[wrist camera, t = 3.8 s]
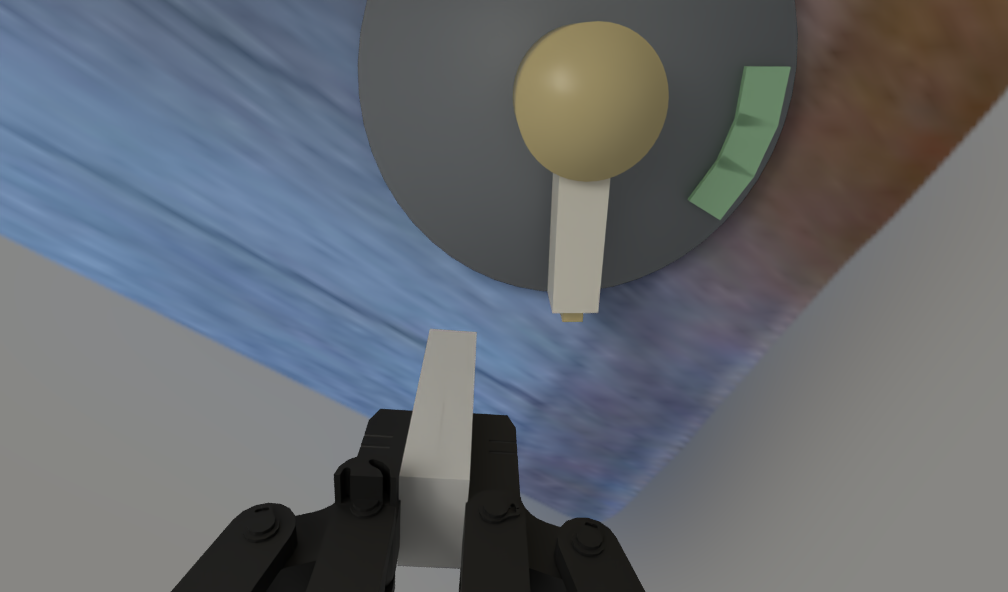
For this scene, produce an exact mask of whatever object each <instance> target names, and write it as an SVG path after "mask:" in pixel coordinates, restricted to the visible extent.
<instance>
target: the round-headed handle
mask: <svg viewBox="0 0 1008 592" xmlns="http://www.w3.org/2000/svg"><path fill="white" fill-rule="evenodd" d="M668 100H669V91H668V82H667V77H666V73H665V70H664V67H663V64H662V62H661V60H660V58H659V56H658V55H657V53H656V52H655V50H654V49H653V47H652V46H651V45H650V44H649V43H648V42H647V41H646V40H645V39H644V38H643V37H641V36H640V35H639V34H638V33H636V32H634V31H633V30H631V29H629V28H627V27H625V26H622V25H620V24H615V23H611V22H603V21H594V22H583V23H574V24H569V25H564V26H562V27H559V28H556V29H554V30H552V31H550V32H548V33H547V34H545V35H544V36H543V37H541V38H540V39H539V40H538V41H537V42H536V43H534V44H533V45H532V47H531V48H530V49H529V50H528V52H527V53H526V55H525V56H524V58H523V59H522V61H521V63H520V65H519V67H518V70H517V73H516V76H515V80H514V85H513V107H514V113H515V116H516V120H517V123H518V126H519V129H520V132H521V135H522V137H523V140H524V142H525V144H526V146H527V147H528V149H529V151H530V152H531V154H532V155H533V156H534V157H535V158H536V160H537V161H538V162H539V163H541V164H542V165H543V166H544V167H545V168H547V169H548V170H550V171H551V172H553V181H552V203H551V225H550V247H549V269H548V291H547V292H548V296H549V301H550V305H551V309H552V313H560V314H561V318H562V322H583V313H598V308H599V297H600V286H601V275H602V265H603V254H604V243H605V232H606V221H607V210H608V199H609V188H610V178H611V177H614V176H617V175H619V174H621V173H623V172H625V171H626V170H628V169H630V168H631V167H633V166H634V165H635V164H636V163H638V162H639V161H640V160H641V159H642V158H643V157H644V156H645V155H646V154H647V153H648V151H649V150H650V149H651V148H652V146H653V145H654V143H655V142H656V140H657V138H658V137H659V134H660V132H661V130H662V128H663V125H664V122H665V119H666V115H667V110H668Z"/></svg>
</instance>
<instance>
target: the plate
mask: <svg viewBox="0 0 1008 592" xmlns="http://www.w3.org/2000/svg"><path fill="white" fill-rule="evenodd" d="M594 21H603V22H611V23H615V24H620V25H622V26H625V27H627V28H629V29H631V30H633V31H634V32H636V33H638V34H639V35H640V36H641V37H643V38H644V39H645V40H646V41H647V42H648V43H649V44H650V45H651V46H652V47H653V49H654V50H655V52H656V53H657V55H658V56H659V58H660V60H661V62H662V64H663V67H664V70H665V73H666V77H667V82H668V91H669V100H668V110H667V115H666V119H665V122H664V125H663V128H662V130H661V132H660V134H659V137H658V138H657V140H656V142H655V143H654V145H653V146H652V148H651V149H650V150H649V151H648V153H647V154H646V155H645V156H644V157H643V158H642V159H641V160H640V161H639V162H638V163H636V164H635V165H634V166H633V167H631V168H630V169H628V170H626V171H625V172H623V173H621V174H619V175H617V176H614V177H611V178H610V188H609V199H608V210H607V221H606V232H605V243H604V254H603V265H602V275H601V286H600V289H601V288H607V287H612V286H616V285H620V284H623V283H626V282H629V281H633V280H636V279H639V278H641V277H643V276H646V275H648V274H650V273H652V272H655V271H657V270H659V269H661V268H663V267H665V266H667V265H668V264H670V263H672V262H674V261H675V260H677V259H679V258H681V257H682V256H684V255H685V254H687V253H688V252H689V251H691V250H692V249H693V248H695V247H696V246H697V245H699V244H700V243H702V242H703V241H704V240H705V239H706V238H708V237H709V236H710V235H711V234H712V233H713V232H714V231H715V230H716V229H717V228H718V227H720V226H721V225H722V224H723V223H724V222H725V221H726V220H727V218H728V217H729V216H730V215H731V214H732V213H733V212H734V210H735V209H736V208H737V207H738V206H739V205H740V204H741V202H742V201H743V200H744V198H745V197H746V195H747V194H748V193H749V191H750V190H751V188H752V187H753V185H754V184H755V183H756V181H757V180H758V178H759V176H760V175H761V173H762V171H763V169H764V167H765V165H766V164H767V162H768V160H769V158H770V156H771V154H772V152H773V150H774V148H775V145H776V143H777V140H778V138H779V135H780V133H781V130H782V128H783V126H784V122H785V118H786V115H787V111H788V108H789V104H790V101H791V97H792V91H793V85H794V79H795V73H796V66H797V41H798V32H797V21H796V9H795V1H794V0H367V3H366V8H365V13H364V18H363V22H362V27H361V32H360V43H359V55H358V82H359V98H360V104H361V110H362V116H363V122H364V127H365V130H366V133H367V137H368V140H369V144H370V147H371V150H372V153H373V156H374V158H375V160H376V163H377V165H378V167H379V170H380V172H381V174H382V177H383V179H384V180H385V182H386V184H387V186H388V187H389V189H390V191H391V192H392V194H393V196H394V197H395V199H396V201H397V202H398V204H399V205H400V206H401V208H402V209H403V210H404V212H405V213H406V214H407V215H408V217H409V218H410V219H411V221H412V222H413V223H414V224H415V225H416V226H417V227H418V228H419V229H420V230H421V231H422V232H423V233H424V234H425V235H426V236H427V237H428V238H429V239H430V240H431V241H432V242H433V243H434V244H435V245H437V246H438V247H439V248H441V249H442V250H443V251H444V252H446V253H447V254H448V255H449V256H451V257H452V258H454V259H455V260H457V261H459V262H460V263H462V264H464V265H465V266H467V267H469V268H470V269H472V270H474V271H476V272H479V273H481V274H483V275H485V276H488V277H490V278H492V279H494V280H497V281H501V282H504V283H507V284H511V285H514V286H517V287H522V288H528V289H534V290H539V291H548V269H549V247H550V225H551V203H552V181H553V172H551V171H550V170H548V169H547V168H545V167H544V166H543V165H542V164H541V163H539V162H538V161H537V160H536V158H535V157H534V156H533V155H532V154H531V152H530V151H529V149H528V147H527V146H526V144H525V142H524V140H523V137H522V135H521V132H520V129H519V126H518V123H517V120H516V116H515V113H514V107H513V85H514V80H515V76H516V73H517V70H518V67H519V65H520V63H521V61H522V59H523V58H524V56H525V55H526V53H527V52H528V50H529V49H530V48H531V47H532V45H533V44H534V43H536V42H537V41H538V40H539V39H540V38H541V37H543V36H544V35H545V34H547V33H548V32H550V31H552V30H554V29H556V28H559V27H562V26H564V25H569V24H574V23H583V22H594Z"/></svg>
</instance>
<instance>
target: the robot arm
mask: <svg viewBox="0 0 1008 592" xmlns="http://www.w3.org/2000/svg"><path fill="white" fill-rule="evenodd" d="M476 334H477V332H467V331H453V330H439V329H430V331H429V336H428V341H427V346H426V351H425V355H424V360H423V365H422V370H421V374H420V379H419V384H418V389H417V393H416V398H415V403H414V408H413V411H407V410H391V409H380V410H379V411H378V412H377V413H376V414H375V415H374V416H373V417H372V418H371V419H370V420H369V422H368V425H367V428H366V431H365V436H364V438H363V440H362V443H361V447H360V450H359V453H358V456H357V457H355V458H352V459H349V460H348V461H346V462H345V463H343V464H342V465H340V466H339V467H338V469H337V471H336V472H335V474H334V487H335V503H334V504H333V505H331V506H329V507H327V508H325V509H322V510H319V511H316V512H312V513H307V514H302V515H298V516H295V515H294V513H293V512H292V511H291V509H290V508H288V507H286V506H284V505H282V504H276V503H265V504H260V505H256V506H253V507H251V508H249V509H247V510H245V511H243V512H242V513H241V514H239V515H238V516H237V517H236V518H235V519H233V520H232V522H231V523H230V524H229V525H228V526H227V527H226V528H225V530H224V531H223V532H222V533H221V534H220V535H219V537H218V538H217V539H216V540H215V541H214V542H213V544H212V545H211V546H210V547H209V548H208V549H207V550H206V552H205V553H204V554H203V555H202V556H201V557H200V559H199V560H198V561H197V562H196V563H195V564H194V566H193V567H192V568H191V569H190V570H189V571H188V573H187V574H186V575H185V576H184V577H183V578H182V579H181V581H180V582H179V583H178V584H177V585H176V586H175V588H174V589H173V590H172V591H171V592H394V590H395V570H396V564H397V559H398V566H414V567H436V568H458V569H459V568H460V583H459V592H645V590H644V588H643V586H642V585H641V583H640V581H639V579H638V577H637V575H636V573H635V571H634V570H633V568H632V566H631V564H630V562H629V560H628V558H627V557H626V555H625V553H624V551H623V549H622V547H621V545H620V544H619V542H618V540H617V538H616V536H615V535H614V534H613V533H612V531H611V530H610V529H609V528H608V527H606V526H605V525H603V524H602V523H601V522H599V521H596V520H593V519H590V518H574V519H571V520H568V521H566V522H565V523H564V524H563V525H562V526H561V527H558V526H555V525H552V524H549V523H546V522H544V521H542V520H539V519H537V518H536V517H535V516H533V515H532V514H530V512H529V511H528V510H527V509H526V508H525V507H524V505H523V503H522V501H521V497H520V487H519V471H518V456H517V444H516V442H517V441H516V428H515V426H514V425H513V423H512V422H511V420H510V419H509V417H508V416H507V415H491V414H475V413H473V398H474V377H475V356H476Z"/></svg>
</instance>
